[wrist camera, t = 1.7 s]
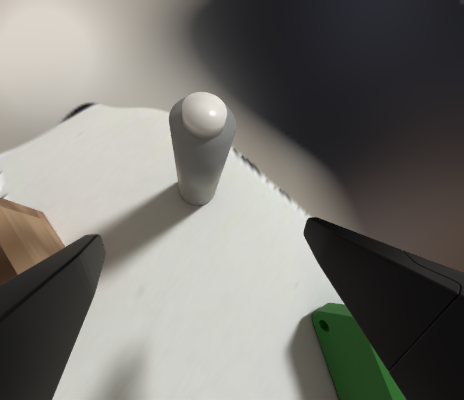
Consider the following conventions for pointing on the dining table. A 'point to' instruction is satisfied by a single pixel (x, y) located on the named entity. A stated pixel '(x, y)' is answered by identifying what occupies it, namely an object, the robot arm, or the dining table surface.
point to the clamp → (352, 357)
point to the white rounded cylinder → (200, 144)
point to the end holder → (24, 239)
